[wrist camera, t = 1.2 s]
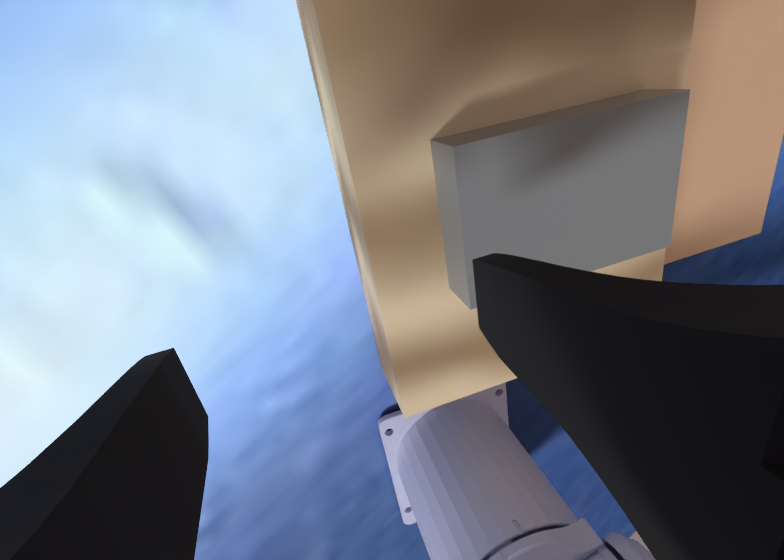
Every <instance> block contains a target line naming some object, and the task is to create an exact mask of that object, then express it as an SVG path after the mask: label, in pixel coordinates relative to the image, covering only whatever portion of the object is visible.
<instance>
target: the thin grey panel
mask: <svg viewBox="0 0 784 560" xmlns="http://www.w3.org/2000/svg"><path fill="white" fill-rule="evenodd" d="M689 96H690V89H643V90H639V91H634V92H630V93H626V94H622V95H618V96H613V97H609V98H605V99H601V100H596V101H592V102H588V103H584V104H580V105H575V106H571V107H567V108H563V109H558V110H554V111H550V112H546V113H542V114H537V115H533V116H529V117H525V118H520V119H516V120H512V121H508V122H504V123H499V124H495V125H491V126H487V127H482V128H478V129H474V130H470V131H466V132H461V133H457V134H453V135H449V136H444V137H440V138H436V139H432V140H430V144H431V152H432V159H433V167H434V175H435V182H436V190H437V198H438V205H439V213H440V220H441V228H442V236H443V243H444V251H445V259H446V266H447V274H448V282H449V288H450V289H451V290H452V291H453V292H454V293H455V294H456V295H457V296H458V297H459V298H460V299H461V301H462V302H463V303H464V304H465V305H466V306H467V307H468V308H469V309H470V310H472V309H475V308H477V303H476V293H475V282H474V272H473V262H472V259H476V258H479V257H483V256H486V255H489V254H493V253H501V254H508V255H514V256H519V257H524V258H529V259H533V260H538V261H542V262H547V263H551V264H556V265H561V266H565V267H570V268H575V269H580V270H585V271H590V272H591V271H594V270H597V269H601V268H604V267H607V266H610V265H613V264H616V263H619V262H623V261H626V260H629V259H632V258H635V257H638V256H641V255H644V254H648V253H651V252H654V251H657V250H660V249H663V248H666V247H670V244H671V236H672V228H673V220H674V213H675V205H676V197H677V189H678V181H679V174H680V166H681V158H682V150H683V142H684V135H685V127H686V119H687V111H688V103H689Z"/></svg>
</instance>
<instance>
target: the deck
mask: <svg viewBox="0 0 784 560" xmlns="http://www.w3.org/2000/svg"><path fill="white" fill-rule="evenodd" d="M696 1H697V0H296V4H297V8H298V12H299V16H300V21H301V25H302V29H303V33H304V38H305V42H306V46H307V50H308V55H309V59H310V63H311V67H312V72H313V76H314V80H315V85H316V89H317V93H318V97H319V102H320V106H321V110H322V114H323V119H324V123H325V127H326V131H327V136H328V140H329V144H330V148H331V153H332V157H333V161H334V166H335V170H336V174H337V178H338V183H339V187H340V191H341V195H342V200H343V204H344V208H345V212H346V217H347V221H348V225H349V229H350V234H351V238H352V242H353V247H354V251H355V255H356V259H357V264H358V268H359V272H360V276H361V281H362V285H363V289H364V293H365V298H366V302H367V306H368V310H369V315H370V319H371V323H372V328H373V332H374V336H375V340H376V345H377V349H378V353H379V357H380V362H381V366H382V370H383V372H384V374H385V376H386V378H387V381H388V383H389V385H390V387H391V389H392V392H393V394H394V396H395V398H396V400H397V403H398V405H399V407H400V409H401V411H402V414H403V416H404V418H407V417H410V416H412V415H415V414H418V413H421V412H424V411H426V410H429V409H432V408H435V407H438V406H440V405H443V404H446V403H449V402H452V401H454V400H457V399H460V398H463V397H466V396H468V395H471V394H474V393H477V392H480V391H482V390H485V389H488V388H491V387H494V386H496V385H499V384H502V383H505V382H508V381H510V380H513V379H516V378H517V377H516V376H515V375H514V374H513V372H512V371H511V370H510V369H509V368H508V367H507V366H506V365H505V364H504V362H503V361H502V360H501V359H500V358H499V357H498V355H497V354H496V352H495V351H494V350H493V348H492V347H491V345H490V344H489V342H488V341H487V339H486V338H485V336H484V335H483V333H482V332H481V330H480V328H479V324H478V313H477V308H475V309H472V310H470V309H469V308H468V307H467V306H466V305H465V304H464V303H463V302H462V301H461V299H460V298H459V297H458V296H457V295H456V294H455V293H454V292H453V291H452V290H451V289H450V288H449V282H448V274H447V266H446V259H445V251H444V243H443V236H442V228H441V220H440V213H439V205H438V198H437V190H436V182H435V175H434V167H433V159H432V152H431V144H430V140H432V139H436V138H440V137H444V136H449V135H453V134H457V133H461V132H466V131H470V130H474V129H478V128H482V127H487V126H491V125H495V124H499V123H504V122H508V121H512V120H516V119H520V118H525V117H529V116H533V115H537V114H542V113H546V112H550V111H554V110H558V109H563V108H567V107H571V106H575V105H580V104H584V103H588V102H592V101H596V100H601V99H605V98H609V97H613V96H618V95H622V94H626V93H630V92H634V91H639V90H643V89H686V82H687V74H688V66H689V57H690V49H691V41H692V33H693V25H694V17H695V9H696ZM665 252H666V248H663V249H660V250H657V251H654V252H651V253H648V254H644V255H641V256H638V257H635V258H632V259H629V260H626V261H623V262H619V263H616V264H613V265H610V266H607V267H604V268H601V269H597V270H594V271H591V272H596V273H602V274H608V275H614V276H620V277H628V278H635V279H644V280H654V281H662V276H663V268H664V260H665Z"/></svg>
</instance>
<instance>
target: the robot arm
mask: <svg viewBox="0 0 784 560" xmlns="http://www.w3.org/2000/svg"><path fill="white" fill-rule="evenodd" d="M472 262H473V272H474V282H475V293H476V303H477V313H478V324H479V328H480V330H481V332H482V333H483V335H484V336H485V338H486V339H487V341H488V342H489V344H490V345H491V347H492V348H493V350H494V351H495V352H496V354H497V355H498V357H499V358H500V359H501V360H502V361H503V362H504V364H505V365H506V366H507V367H508V368H509V369H510V370H511V371H512V372H513V374H514V375H515V376H516V377H517V378H518V379H519V380H520V381H521V382H522V383H523V385H524V386H525V387H526V388H527V389H528V390H529V391H530V392H531V393H532V394H533V395H534V396H535V398H536V399H537V400H538V401H539V402H540V403H541V404H542V405H543V406H544V407H545V408H546V410H547V411H548V412H549V413H550V414H551V415H552V416H553V417H554V418H555V419H556V420H557V422H558V423H559V424H560V425H561V426H562V428H563V429H564V430H565V431H566V432H567V434H568V435H569V436H570V437H571V439H572V440H573V441H574V443H575V444H576V445H577V447H578V448H579V450H580V451H581V452H582V454H583V455H584V456H585V458H586V459H587V460H588V462H589V463H590V464H591V466H592V467H593V468H594V470H595V471H596V473H597V474H598V475H599V477H600V478H601V480H602V481H603V483H604V484H605V485H606V487H607V488H608V490H609V491H610V493H611V494H612V495H613V497H614V498H615V500H616V501H617V502H618V504H619V505H620V507H621V508H622V510H623V511H624V513H625V514H626V516H627V517H628V519H629V520H630V522H631V523H632V525H633V526H634V528H635V529H636V531H637V532H638V534H639V535H640V537H641V538H642V540H643V541H644V543H645V544H646V546H647V547H648V549H649V550H650V552H651V553H652V554H651V553H650V552H649V551H648V550H647V549H646V548H645V547H644V546H642V545H641V544H640V543H639V542H637V541H635V540H633V539H630V538H627V537H624V536H621V535H619V534H618V533H615V532H611V533H609V534H608V535H606V536H605V537H604V538H602V540H601V539H600V538H599V536H598V535H597V534H596V533H595V531H594V530H593V529H592V527H591V526H590V525H589V523H588V522H587V521H586V520H585V519H584V518H582V519H580V520H578V519H577V518H576V517H575V515H574V514H573V513H572V511H571V510H570V509H569V507H568V506H567V505H566V503H565V502H564V501H563V499H562V498H561V497H560V495H559V494H558V493H557V491H556V490H555V489H554V487H553V486H552V485H551V483H550V482H549V481H548V479H547V478H546V477H545V475H544V474H543V473H542V471H541V470H540V469H539V467H538V466H537V465H536V463H535V462H534V461H533V459H532V458H531V457H530V455H529V454H528V453H527V451H526V450H525V448H524V447H523V446H522V444H521V443H520V442H519V440H518V439H517V438H516V436H515V435H514V434H513V432H512V431H511V430H510V428H509V422H508V408H507V394H506V382H505V383H502V384H499V385H496V386H494V387H491V388H488V389H485V390H482V391H480V392H477V393H474V394H471V395H468V396H466V397H463V398H460V399H457V400H454V401H452V402H449V403H446V404H443V405H440V406H438V407H435V408H432V409H429V410H426V411H424V412H421V413H418V414H415V415H412V416H410V417H407V418H404V416H403V414H402V411H401V410H399V411H396V412H393V413H390V414H387V415H385V416H383V417H381V418H380V419H379V421H378V426H379V430H380V434H381V438H382V442H383V446H384V450H385V453H386V457H387V461H388V465H389V469H390V473H391V477H392V480H393V484H394V488H395V492H396V496H397V500H398V504H399V507H400V511H401V515H402V519H403V522H404V523H405V524H409V525H410V524H413V523H415V522H417V524H418V527H419V529H420V532H421V535H422V537H423V540H424V543H425V545H426V548H427V551H428V553H429V556H430V559H431V560H784V285H715V284H690V283H675V282H664V281H654V280H644V279H635V278H628V277H620V276H614V275H608V274H602V273H596V272H590V271H585V270H580V269H575V268H570V267H565V266H561V265H556V264H551V263H547V262H542V261H538V260H533V259H529V258H524V257H519V256H514V255H508V254H501V253H493V254H489V255H486V256H483V257H479V258H476V259H472ZM497 390H498V391H497ZM496 391H497V392H496ZM388 429H391V430H389V431H386V430H388ZM207 463H208V415H207V413H206V411H205V409H204V407H203V405H202V403H201V401H200V399H199V397H198V395H197V393H196V391H195V389H194V387H193V385H192V383H191V381H190V379H189V377H188V375H187V373H186V371H185V369H184V367H183V365H182V363H181V361H180V359H179V357H178V355H177V353H176V351H175V349H174V348H171V349H168V350H165V351H161V352H158V353H154V354H151V355H148V356H145V357H143V358H142V359H141V360H139V361H138V362H137V363H136V364H135V365H133V366H132V367H131V368H130V369H129V370H128V371H127V372H126V373H125V374H124V375H123V376H122V377H121V378H120V379H119V380H118V381H116V382H115V383H114V384H113V385H112V386H111V387H110V388H109V389H108V390H107V391H106V392H105V393H104V394H103V395H102V396H101V397H100V398H99V399H98V400H97V401H96V402H95V403H94V404H93V405H92V406H91V407H90V408H89V409H88V410H87V411H86V412H85V413H84V414H83V415H82V416H81V417H80V418H79V419H78V420H76V421H75V422H74V423H73V424H72V425H71V426H70V427H69V428H68V429H67V430H66V431H65V432H63V433H62V434H61V435H60V436H59V437H58V438H57V439H56V440H55V441H54V442H53V443H51V444H50V445H49V446H48V447H47V448H46V449H45V450H44V451H43V452H42V453H40V454H39V455H38V456H37V457H36V458H35V459H34V460H33V461H32V462H31V463H30V464H28V465H27V466H26V467H25V468H24V469H23V470H21V471H20V472H19V473H18V474H17V475H16V476H14V477H13V478H12V479H11V480H10V481H8V482H7V483H6V484H5V485H4V486H2V487H1V488H0V560H194V555H195V548H196V541H197V534H198V527H199V520H200V514H201V507H202V500H203V493H204V486H205V478H206V471H207Z"/></svg>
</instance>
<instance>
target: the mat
mask: <svg viewBox="0 0 784 560" xmlns="http://www.w3.org/2000/svg"><path fill="white" fill-rule="evenodd" d="M686 89H690V96H689V103H688V111H687V119H686V127H685V135H684V142H683V150H682V158H681V166H680V174H679V181H678V189H677V197H676V205H675V213H674V220H673V228H672V236H671V244H670V247H666V252H665V260H664V264H667V263H671V262H674V261H677V260H680V259H683V258H686V257H689V256H692V255H695V254H698V253H701V252H704V251H707V250H710V249H713V248H716V247H719V246H723V245H726V244H729V243H732V242H735V241H738V240H741V239H744V238H747V237H750V236H753V235H756V234H759V233H761V230H762V226H763V221H764V217H765V213H766V208H767V204H768V199H769V195H770V191H771V186H772V182H773V178H774V173H775V169H776V164H777V160H778V156H779V151H780V147H781V143H782V138H783V134H784V0H697V1H696V9H695V17H694V25H693V33H692V41H691V49H690V57H689V66H688V74H687V82H686Z"/></svg>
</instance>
